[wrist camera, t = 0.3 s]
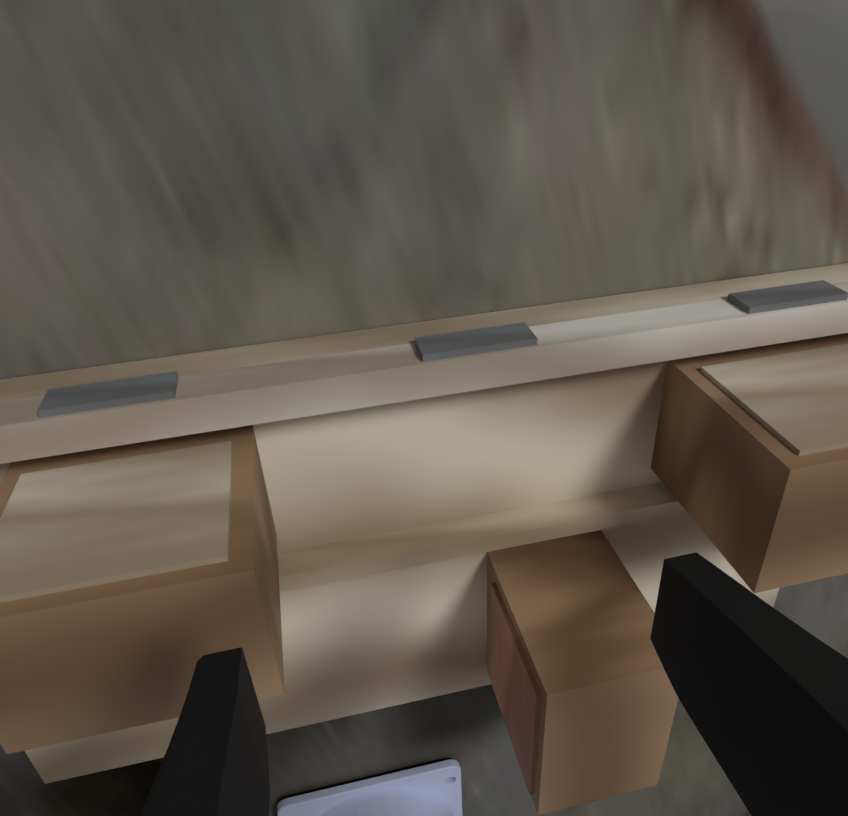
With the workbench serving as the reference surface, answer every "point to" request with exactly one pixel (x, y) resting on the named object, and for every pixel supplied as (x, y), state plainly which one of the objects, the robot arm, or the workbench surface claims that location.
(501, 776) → the workbench surface
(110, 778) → the workbench surface
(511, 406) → the long shallow wooden tray
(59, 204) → the workbench surface
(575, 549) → the turned block
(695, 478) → the faced block
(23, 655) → the faced block
